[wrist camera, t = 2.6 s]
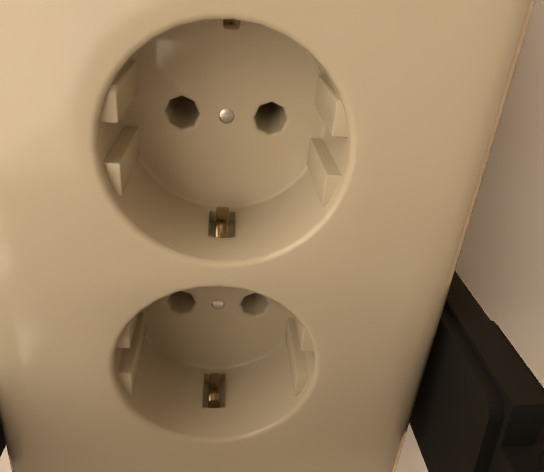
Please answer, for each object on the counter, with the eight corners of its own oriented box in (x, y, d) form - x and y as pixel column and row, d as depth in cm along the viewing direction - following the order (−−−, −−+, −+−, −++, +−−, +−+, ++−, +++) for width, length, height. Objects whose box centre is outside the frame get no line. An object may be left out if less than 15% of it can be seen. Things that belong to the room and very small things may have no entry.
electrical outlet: (55, 698, 13) (-177, -267, 4) (93, 536, 17) (3, -170, 8) (338, 684, 14) (602, -164, 5) (315, 532, 17) (450, -117, 9)
